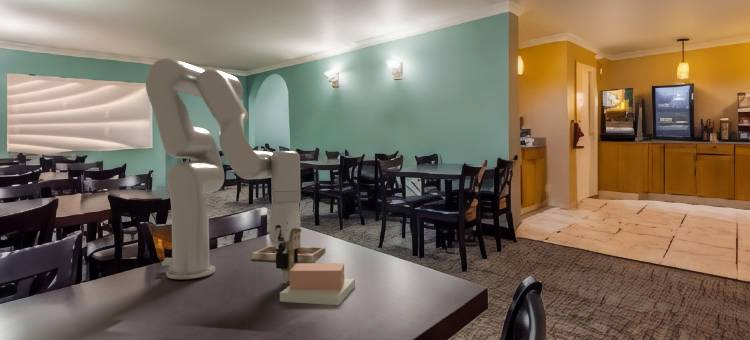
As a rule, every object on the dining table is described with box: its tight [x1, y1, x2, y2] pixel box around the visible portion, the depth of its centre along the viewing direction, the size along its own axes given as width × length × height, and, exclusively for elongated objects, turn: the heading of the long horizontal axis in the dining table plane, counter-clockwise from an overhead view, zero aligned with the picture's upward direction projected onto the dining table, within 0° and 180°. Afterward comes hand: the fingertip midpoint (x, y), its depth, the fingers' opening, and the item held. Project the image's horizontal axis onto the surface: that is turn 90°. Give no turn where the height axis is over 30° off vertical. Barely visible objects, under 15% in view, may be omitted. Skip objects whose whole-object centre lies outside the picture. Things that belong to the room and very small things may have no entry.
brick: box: [289, 262, 345, 290], centre depth 99 cm, size 12×7×4 cm, turn 89°
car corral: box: [252, 245, 327, 263], centre depth 133 cm, size 20×12×4 cm, turn 78°
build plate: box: [279, 277, 356, 306], centre depth 99 cm, size 14×14×2 cm
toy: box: [279, 228, 302, 284], centre depth 110 cm, size 7×7×15 cm
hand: (287, 264), depth 110 cm, fingers closed on toy, 5 cm apart
